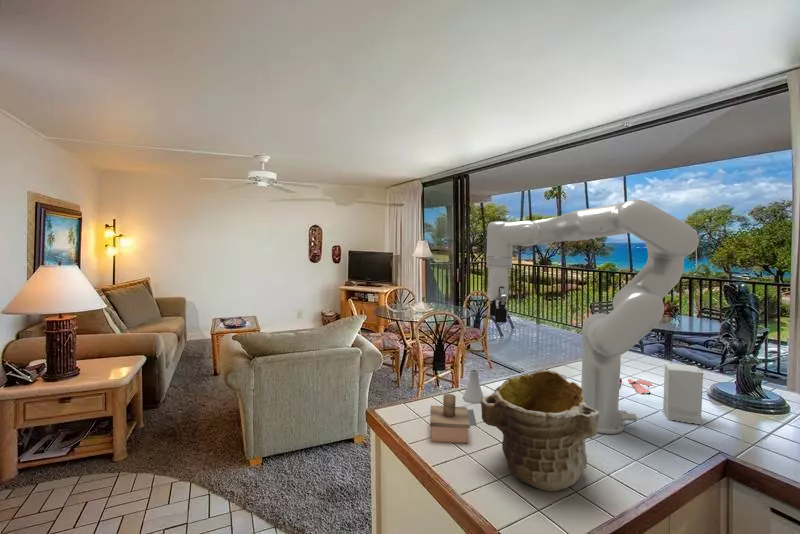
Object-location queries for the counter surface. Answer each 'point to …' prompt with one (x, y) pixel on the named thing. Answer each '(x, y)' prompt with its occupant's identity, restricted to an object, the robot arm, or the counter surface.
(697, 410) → the skincare box
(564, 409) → the ceramic vessel
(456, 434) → the open square container
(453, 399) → the lid
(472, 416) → the mat
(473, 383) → the flask
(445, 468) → the counter surface
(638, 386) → the cloth
